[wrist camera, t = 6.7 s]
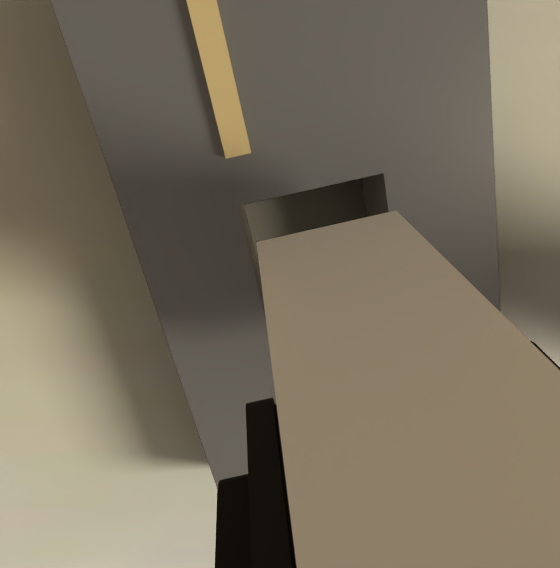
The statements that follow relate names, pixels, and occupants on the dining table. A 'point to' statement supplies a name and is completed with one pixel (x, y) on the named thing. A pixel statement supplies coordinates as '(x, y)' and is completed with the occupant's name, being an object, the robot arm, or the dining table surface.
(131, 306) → the dining table surface
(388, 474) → the plug
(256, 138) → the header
